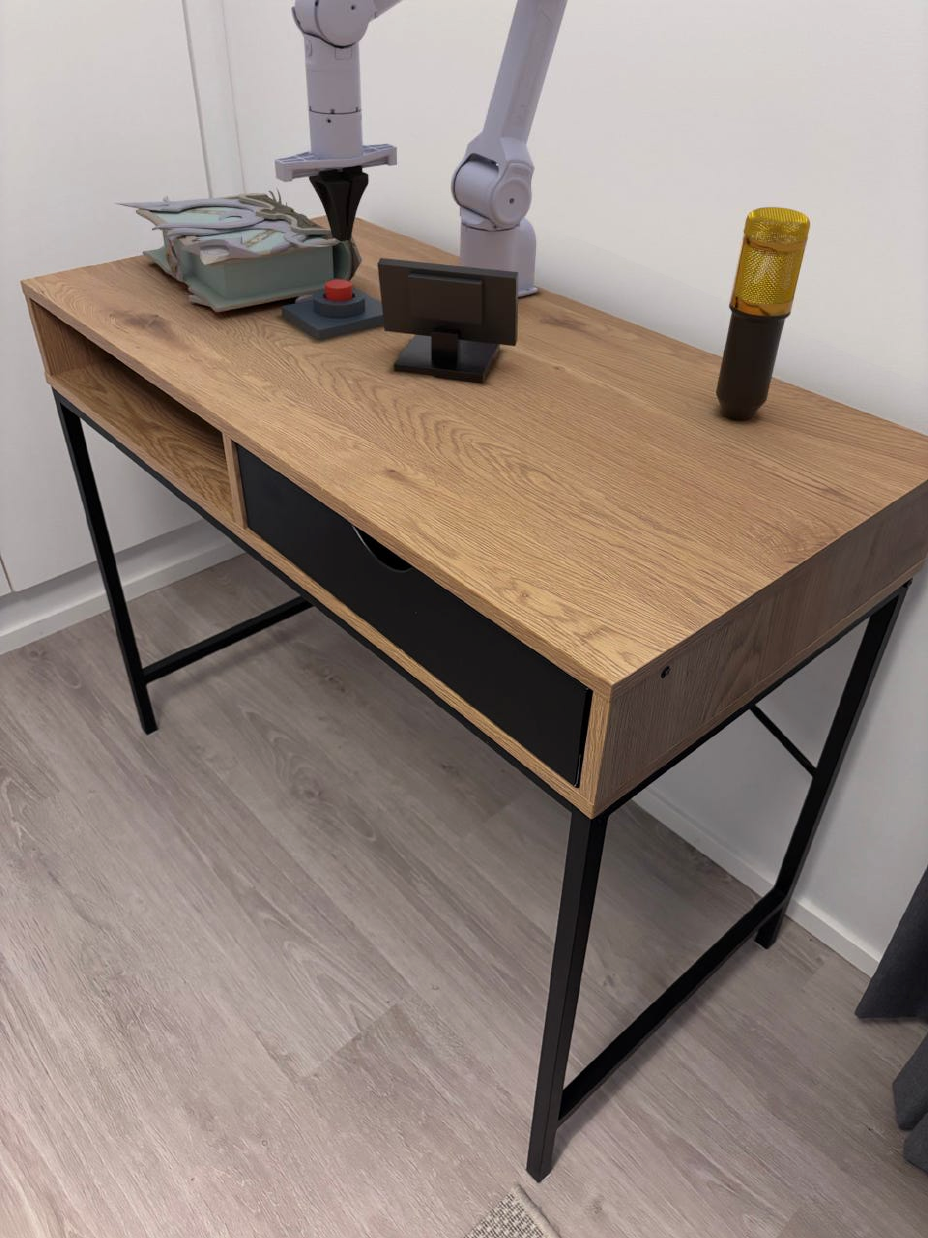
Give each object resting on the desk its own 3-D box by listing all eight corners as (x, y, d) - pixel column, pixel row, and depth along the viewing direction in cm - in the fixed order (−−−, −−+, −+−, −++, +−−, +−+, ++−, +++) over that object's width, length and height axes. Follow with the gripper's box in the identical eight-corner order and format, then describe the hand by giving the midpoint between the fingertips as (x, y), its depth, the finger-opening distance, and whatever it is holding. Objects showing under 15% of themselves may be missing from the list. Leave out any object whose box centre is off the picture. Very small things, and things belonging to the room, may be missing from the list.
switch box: (359, 300, 127) (358, 276, 125) (398, 322, 121) (398, 297, 119) (281, 317, 121) (279, 292, 120) (319, 341, 116) (317, 316, 114)
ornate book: (372, 302, 129) (268, 232, 147) (371, 226, 123) (263, 163, 141) (207, 337, 118) (118, 257, 137) (197, 255, 112) (106, 183, 131)
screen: (387, 324, 113) (380, 256, 106) (517, 339, 110) (518, 271, 104) (382, 335, 112) (374, 267, 105) (513, 350, 109) (514, 282, 103)
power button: (343, 291, 121) (342, 277, 120) (357, 299, 119) (357, 285, 118) (320, 296, 120) (319, 282, 119) (334, 304, 118) (333, 290, 117)
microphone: (688, 372, 111) (721, 183, 99) (778, 418, 103) (826, 217, 91) (649, 384, 109) (678, 190, 97) (738, 431, 100) (782, 226, 88)
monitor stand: (415, 341, 116) (415, 307, 114) (499, 351, 115) (501, 317, 112) (393, 372, 109) (393, 336, 107) (482, 383, 108) (484, 347, 105)
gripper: (371, 95, 113) (375, 219, 122) (256, 108, 106) (269, 239, 115) (406, 106, 109) (408, 234, 117) (289, 121, 102) (299, 256, 110)
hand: (341, 238), depth 116 cm, fingers closed
